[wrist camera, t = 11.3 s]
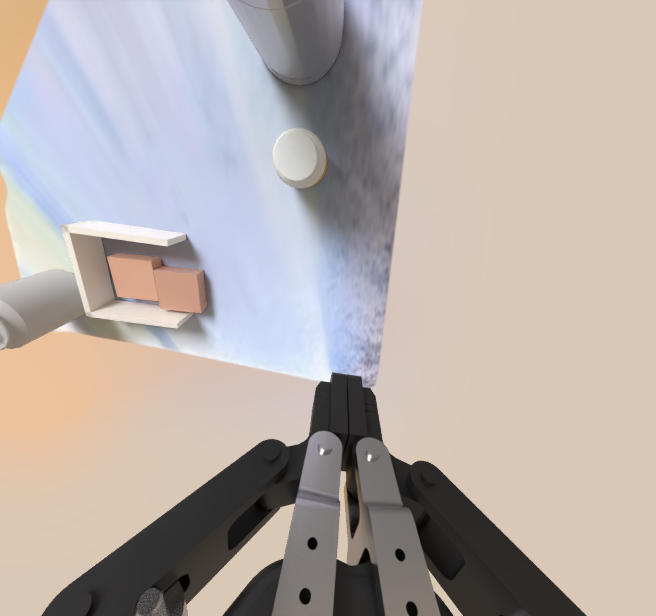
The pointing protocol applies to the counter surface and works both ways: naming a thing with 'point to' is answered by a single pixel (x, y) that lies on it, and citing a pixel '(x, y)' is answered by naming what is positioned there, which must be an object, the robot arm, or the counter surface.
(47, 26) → the counter surface
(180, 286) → the tile
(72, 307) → the can
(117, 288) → the tile
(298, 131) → the supplement bottle
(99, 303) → the white u-shaped bracket
